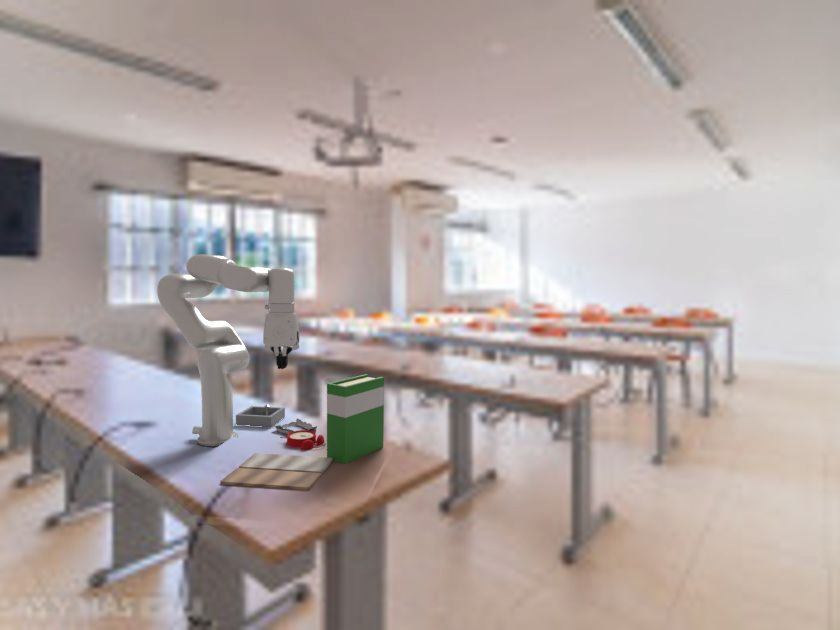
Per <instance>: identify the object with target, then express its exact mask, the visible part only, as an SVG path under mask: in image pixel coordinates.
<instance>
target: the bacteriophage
mask: <svg viewBox="0 0 840 630" xmlns="http://www.w3.org/2000/svg"><path fill="white" fill-rule="evenodd" d="M263 407H264V409H265V410H268V409H269V407H271V406H270V405H269V404H265V405H264V406H263ZM268 412H269V411H266V412H264V414H265V413H266V416H268V415H269V414H272V413H270V412H269V414H268ZM264 414H263V415H264ZM259 415H261V414H259ZM264 416H265V415H264ZM269 416H270V415H269Z"/></svg>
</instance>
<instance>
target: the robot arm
mask: <svg viewBox="0 0 840 630" xmlns="http://www.w3.org/2000/svg"><path fill="white" fill-rule="evenodd" d="M186 271H187V273H171V274H167V275H164V276H163V277H161V278H160V279H159V281H158V283H157V288H156V293H157V298H158V301H159V304H160V305H161V307H162V308H163V310H164V311H165V312H166V314H167V315H169V317H170V319H172V320H173V322H174V323H175V325H176V326H177V328H178V330H179V332H180V333H181V334H182V337H184V340H185V341H186V342H187V343H188V345H189V347H191V348H192V349H194V350H197V351H199V350H200V351H201V350H202V352H200V353H199V355H198V357H197V359H196V360H197V361H196V362H197V368H198V372H199V377H200V387H201V388H200V390H201V391H200V392H201V422H202V423H201V425H202V426H198V425H197V426H193V427H192V431H191V433H192V434H193V435H199V436H198V437H197V441H196V442H197V444H198V445H200V446H203V445H204V447H219V446H218V445H220V446H221V445H223V444H225V443H226V442H227V441H229V440H230V439H232V438H239V434H238V433H237V432H235V431H234V412H233V411H234V408H233V407H234V406H233V405H234V403H233V385H232V382H231V380H230V379H229V377H228V374H231V373H234V372H235V373H236V372H239V371H242V370H244V369H246V368H247V367H248V366H249V363H250V353H249V351H248V348H247V346H246V345H245V344H244V343H243V341H242V339H241V337H239V335H238V333H237V332H236V330H235V329H234V328H233V326H232V325H231V324H230V323H228V322H227V321H225V320H222V319H220V320H219V319H216V320H212V319H211V320H209V319H206V318H205V316H203V314H202V313H201V311H200V310H199V308H197V306H195V305H194V304H193V303H191V302H190V301H188V300H187V299H201V298H206V297H207V296H209V295H211V294H212V293H213V292H214V291H215V290H216V289H218V288H219V286H222V287H224V288H225V289H229V290H233V291H237V292H244V293H265V292H267V293H268V304H264V309H265V310H268V313H265V318H264V322H263V323H264V324H263V332H262V333H263V335H262V338H263V345H264V349H266V350H269V351H271V352H272V353H274V355H275V357H276V358H275V359H276V366H277V369H278V370H284V369H287V366H288V364H289V362H288V361H289V357H288V356H289V355H290V353H292V351H297V350H300V345H299V344H300V328H299V320H298V316H297V315H298V314H297V313H295V272H294V270H293V269H291V268H279V267H278V268H277V267H276V268H273V267H272V268H271V267H255V266H253V267H252V266H241V265H237V263H236V262H235V261H234V260H232V259H228V258H227V257H225V256H223V255H218V254H202V253H200V254H195V255H192V256H191V257H190V258H189V259H188V260H187V261H186Z"/></svg>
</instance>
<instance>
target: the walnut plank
mask: <svg viewBox="0 0 840 630" xmlns="http://www.w3.org/2000/svg"><path fill="white" fill-rule="evenodd" d="M320 477H321V473H309V472H294V471H278V470H263V469H247V468H239V467H236V468H235V469H234V470H232V471H231V472H230V473H229V474H228V475H226V476H225V477H224V478H222V479H221V480H220V485H226V486H243V487H255V488H258V487H259V488H270V489H282V490H283V489H286V490H301V491H310V490H311V489H312V488H313V487H314V485H315V484H316V483H317V482H318V480H319V479H320Z"/></svg>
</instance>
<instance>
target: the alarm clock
mask: <svg viewBox="0 0 840 630" xmlns="http://www.w3.org/2000/svg"><path fill="white" fill-rule="evenodd" d="M293 431H294V432H291V433H289V434H286V435H287V436H280V439H286V443H285V444H286V445H287V446H288V447H290V448H300V450H302V451H306V450H311V449H317V448H318V449H319V448H322V447H325V446H327V442H325V437H324V436H323V434H319V435H318V436H317V434H316V433H317V432H316V433H315V432H313V431H309V429H306V430H305V429H303V430H302V429H301V430H293Z"/></svg>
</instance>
